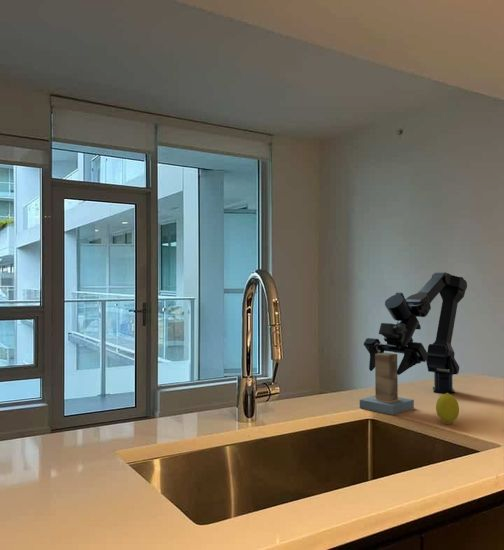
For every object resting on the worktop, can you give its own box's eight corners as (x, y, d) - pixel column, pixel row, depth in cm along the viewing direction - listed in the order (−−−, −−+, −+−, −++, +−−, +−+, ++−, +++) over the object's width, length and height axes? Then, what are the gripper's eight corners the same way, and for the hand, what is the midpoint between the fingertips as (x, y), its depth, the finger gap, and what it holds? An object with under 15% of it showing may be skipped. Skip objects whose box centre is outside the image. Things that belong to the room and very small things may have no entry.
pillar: (384, 396, 153) (383, 352, 153) (397, 399, 149) (397, 354, 150) (375, 398, 150) (375, 354, 150) (389, 401, 146) (388, 355, 147)
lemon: (462, 427, 129) (462, 395, 130) (440, 427, 130) (440, 395, 130) (454, 421, 135) (454, 390, 135) (433, 421, 135) (432, 390, 135)
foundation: (381, 401, 157) (381, 393, 157) (413, 408, 149) (413, 399, 149) (359, 407, 150) (359, 398, 150) (392, 414, 142) (392, 405, 142)
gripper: (366, 311, 159) (345, 351, 152) (422, 314, 146) (401, 357, 138) (381, 335, 165) (361, 374, 157) (436, 340, 151) (417, 383, 143)
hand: (383, 371), depth 149 cm, fingers open, 9 cm apart
